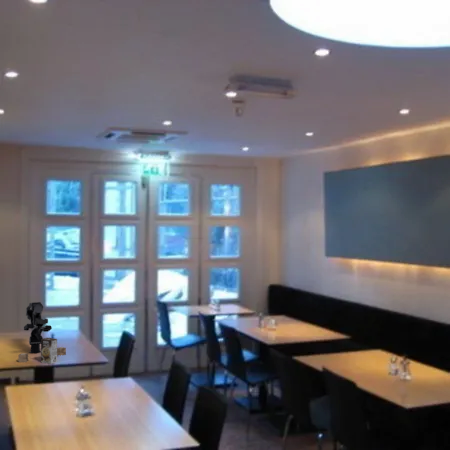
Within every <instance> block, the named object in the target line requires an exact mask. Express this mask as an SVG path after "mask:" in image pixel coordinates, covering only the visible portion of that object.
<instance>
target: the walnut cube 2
mask: <svg viewBox="0 0 450 450" xmlns="http://www.w3.org/2000/svg"><path fill="white" fill-rule="evenodd" d="M66 349H67V347H63V346H59V347H57V356H58V355H60V357H61V355H62V356H66V355H67V350H66Z"/></svg>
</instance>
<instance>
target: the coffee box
mask: <svg viewBox="0 0 450 450" xmlns="http://www.w3.org/2000/svg"><path fill="white" fill-rule="evenodd" d="M57 348H58V339H57V338H54V337H53V338H52V337H43V339H41V344H40V351H41V352H40V362H41V363H42V364H43V363H44V364H50V365H51V364H55V363H57V362H58V355H57Z"/></svg>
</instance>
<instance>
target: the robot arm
mask: <svg viewBox="0 0 450 450" xmlns="http://www.w3.org/2000/svg"><path fill="white" fill-rule="evenodd" d="M43 311H44V306H43V304H42V302H41V301H38V302H37V301H33V302H29V304H28V306H27V307H26V309H25V316H26V318H27V320H29V323H27V324H25V325H24V326H23V330H24V331H29V330H31V331H30V336H29V338H28V339H29V340H28V344H29V345H30V351H29V352H28V354H29V353H30V354H39V353H41V339H43V338H44V337H43V336H42V333H43V332H45V333H48V332H50V331H52V330H53V329H52V328H53V327H52V326H51V325H49V319H48V318H44V319H43V318H42V314H43ZM47 324H48V325H47Z"/></svg>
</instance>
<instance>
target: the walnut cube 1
mask: <svg viewBox="0 0 450 450" xmlns="http://www.w3.org/2000/svg"><path fill="white" fill-rule="evenodd" d="M28 361H29V353H23V352H22V353H20V354H18V359H17V362H18V363H27V362H28Z"/></svg>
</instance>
